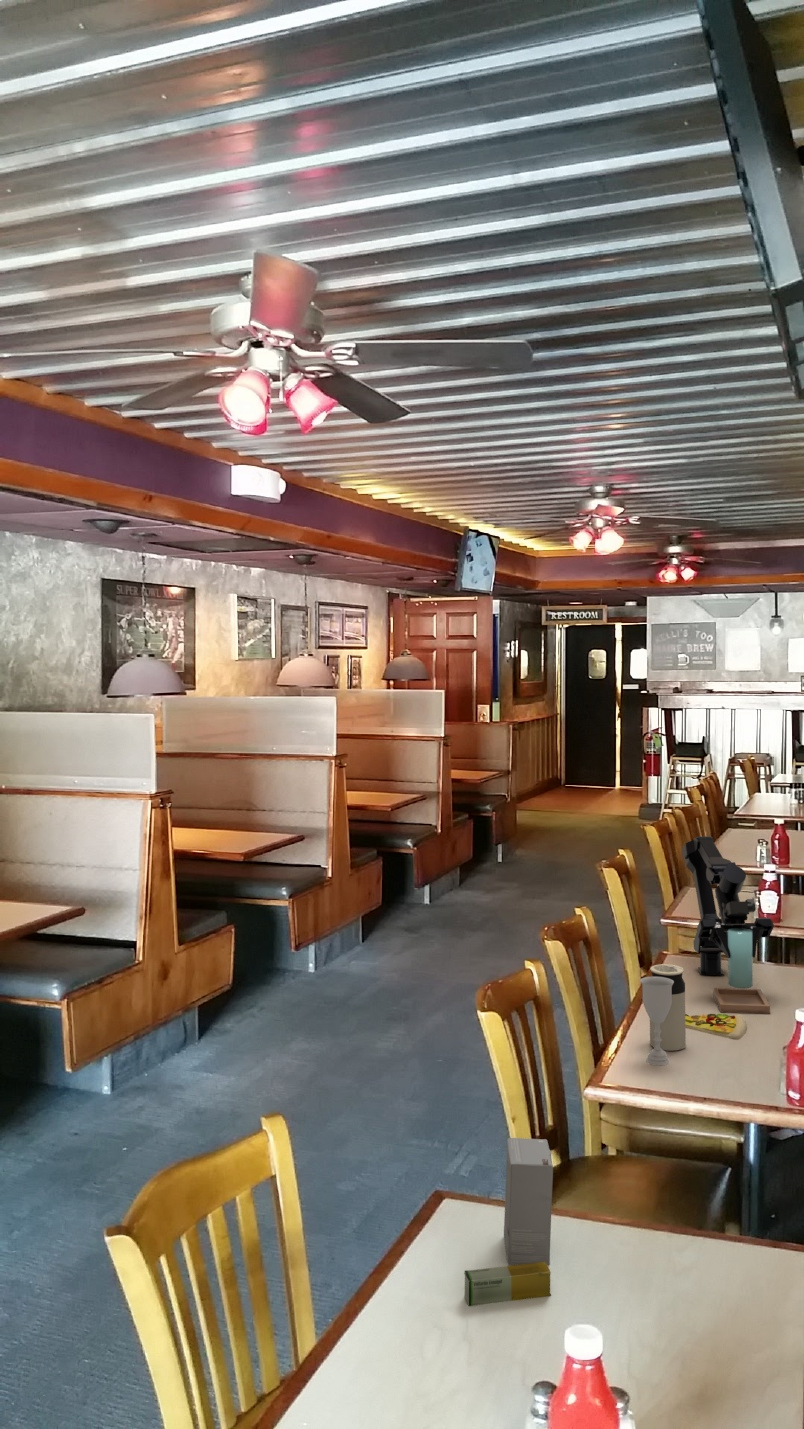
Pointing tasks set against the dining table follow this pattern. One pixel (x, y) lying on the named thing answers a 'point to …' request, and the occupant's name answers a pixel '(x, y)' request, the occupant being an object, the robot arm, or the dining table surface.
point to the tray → (741, 1001)
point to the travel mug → (671, 1010)
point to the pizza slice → (718, 1024)
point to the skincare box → (528, 1201)
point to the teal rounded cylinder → (740, 958)
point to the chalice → (657, 1011)
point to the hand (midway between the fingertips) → (741, 957)
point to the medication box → (507, 1283)
